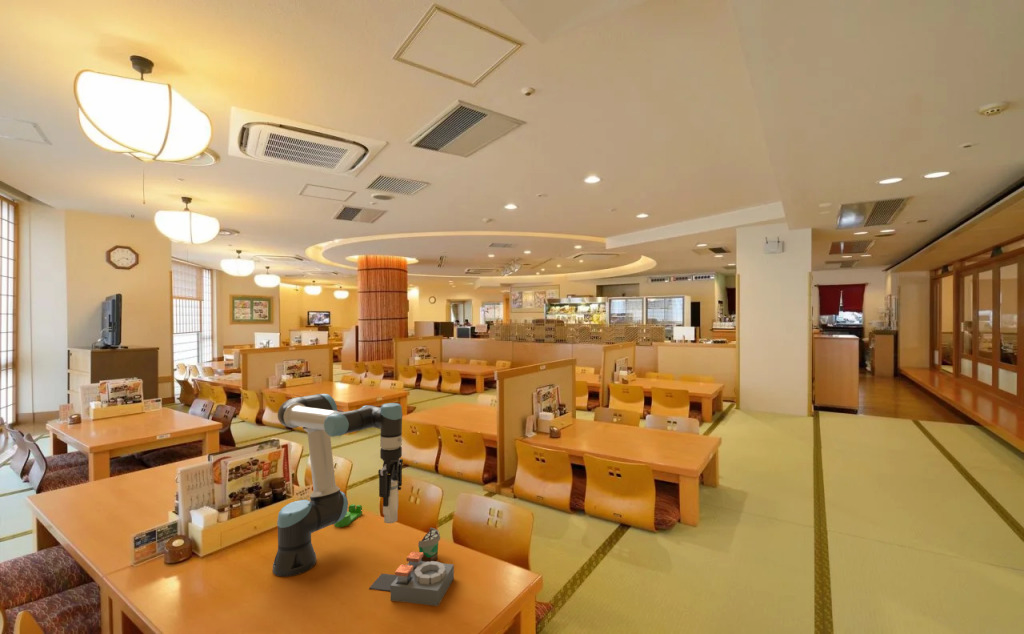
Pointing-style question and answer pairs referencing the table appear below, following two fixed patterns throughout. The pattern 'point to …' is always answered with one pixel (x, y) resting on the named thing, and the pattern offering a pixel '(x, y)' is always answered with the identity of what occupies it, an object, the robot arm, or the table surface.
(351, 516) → the tape dispenser
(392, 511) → the cartridge
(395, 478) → the robot arm
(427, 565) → the housing
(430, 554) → the food container
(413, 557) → the plunger
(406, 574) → the plunger
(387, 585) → the mat
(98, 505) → the table surface
